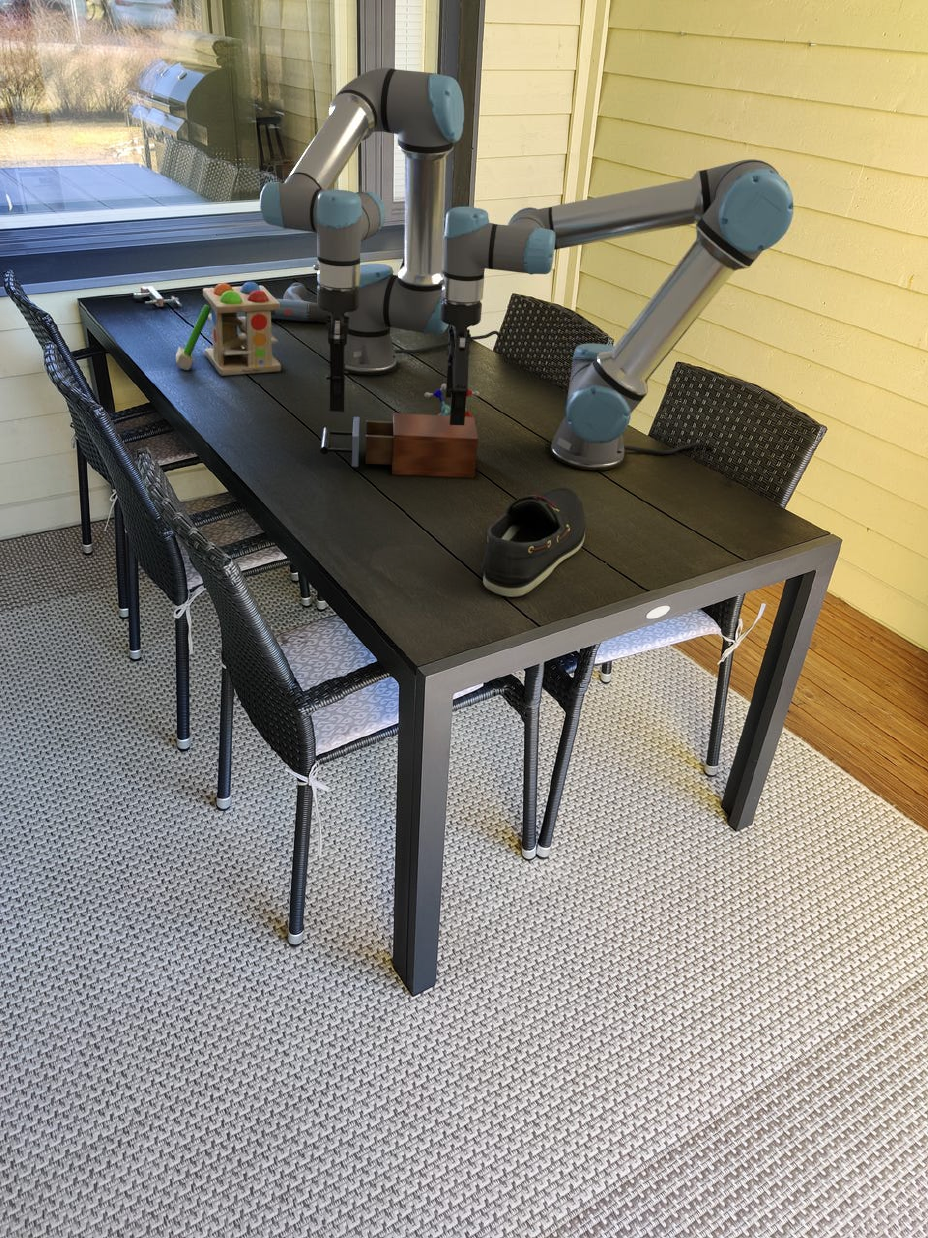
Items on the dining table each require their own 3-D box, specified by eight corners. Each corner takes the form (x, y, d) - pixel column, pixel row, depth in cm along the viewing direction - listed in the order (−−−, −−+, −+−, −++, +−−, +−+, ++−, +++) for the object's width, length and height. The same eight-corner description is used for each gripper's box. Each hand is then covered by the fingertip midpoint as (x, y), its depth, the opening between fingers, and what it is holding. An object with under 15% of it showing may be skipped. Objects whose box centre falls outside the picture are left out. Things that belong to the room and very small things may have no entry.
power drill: (344, 304, 276) (335, 327, 259) (277, 298, 275) (264, 321, 258) (344, 285, 273) (335, 306, 256) (277, 279, 272) (264, 300, 255)
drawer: (319, 465, 189) (319, 434, 185) (322, 444, 197) (322, 414, 193) (428, 469, 191) (430, 439, 188) (426, 449, 199) (428, 420, 195)
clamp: (129, 286, 265) (166, 284, 270) (130, 295, 267) (167, 292, 271) (144, 303, 255) (182, 300, 259) (145, 312, 256) (183, 309, 261)
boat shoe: (609, 530, 179) (617, 478, 174) (520, 603, 155) (525, 545, 150) (547, 511, 185) (553, 460, 179) (452, 578, 161) (455, 522, 155)
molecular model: (472, 422, 205) (456, 376, 203) (432, 437, 208) (416, 391, 207) (488, 419, 215) (474, 375, 214) (450, 433, 219) (435, 390, 218)
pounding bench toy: (183, 379, 220) (176, 299, 210) (169, 357, 231) (162, 280, 221) (282, 371, 230) (280, 294, 220) (264, 350, 240) (262, 276, 230)
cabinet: (392, 474, 190) (393, 434, 186) (391, 450, 199) (393, 412, 194) (474, 477, 192) (478, 438, 187) (470, 454, 201) (473, 416, 196)
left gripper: (318, 273, 180) (318, 396, 193) (315, 294, 169) (315, 422, 182) (360, 276, 180) (357, 398, 194) (358, 297, 170) (356, 424, 183)
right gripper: (437, 279, 187) (432, 385, 199) (444, 320, 167) (438, 436, 179) (476, 281, 188) (468, 387, 200) (488, 321, 168) (479, 437, 180)
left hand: (337, 410), depth 188 cm, fingers closed
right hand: (454, 410), depth 189 cm, fingers open, 13 cm apart
